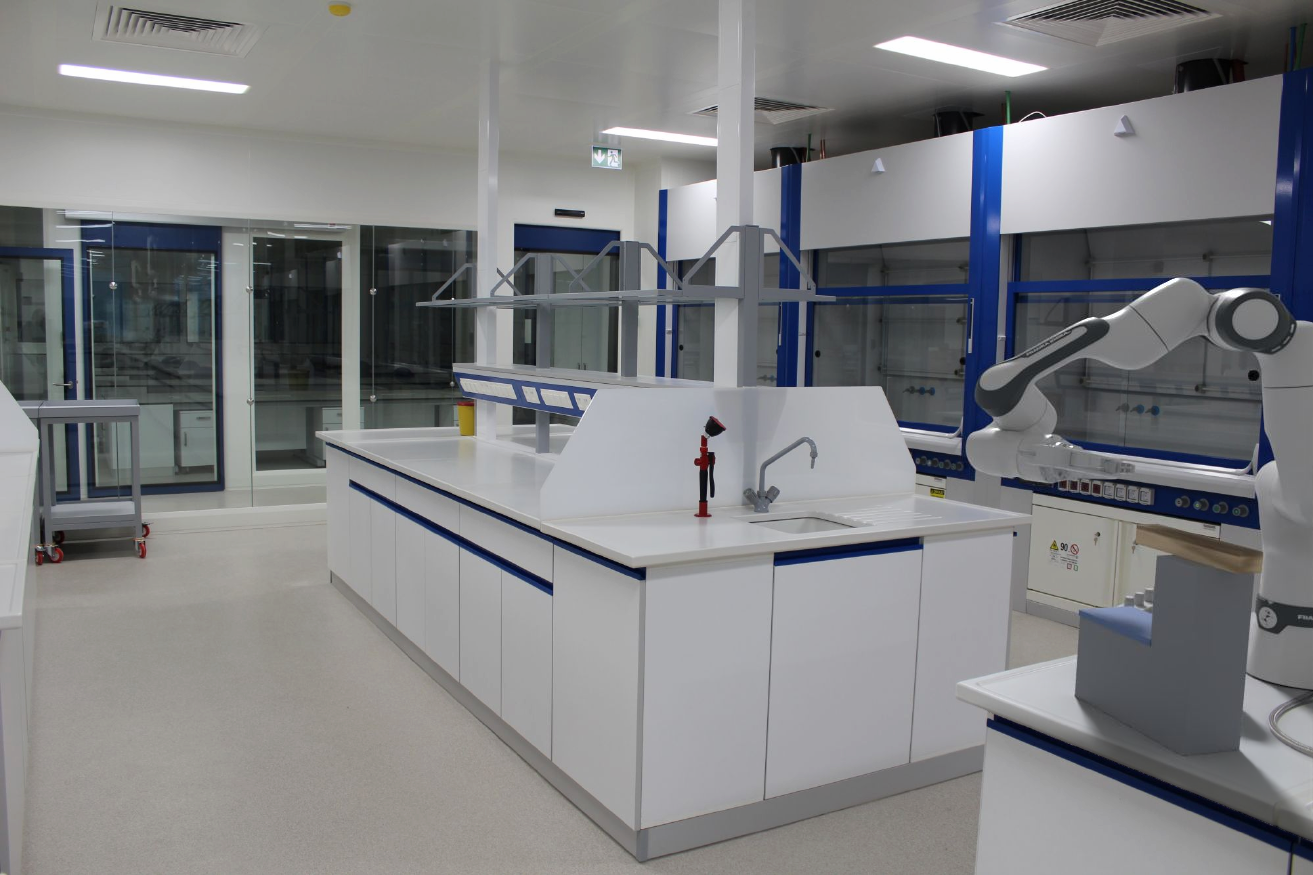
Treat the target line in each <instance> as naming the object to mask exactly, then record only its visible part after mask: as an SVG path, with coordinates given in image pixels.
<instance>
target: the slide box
mask: <svg viewBox="0 0 1313 875" xmlns="http://www.w3.org/2000/svg"><path fill="white" fill-rule="evenodd" d="M1135 529H1136V530H1135V544H1137V545H1140V546H1144V547H1146V548H1150V549H1153V550H1156V551H1160V552H1162V553H1163V552H1164V553H1166V554H1168V555H1176V556H1179V557H1183V558H1186V559H1189V560H1193V561H1196V562H1199V563H1203V564H1206V565H1209V566H1213V567H1216V568H1219V569H1223V570H1226V571H1229V572H1233V573H1236V574H1252V573H1255V574H1261V573H1262V564H1263V553H1264V552H1262V551H1261V550H1257V549H1254V548H1250V547H1246V546H1243V545H1239V544H1235V543H1231V542H1228V541H1224V540H1220V539H1216V538H1213V537H1210V536H1209V537H1208V536H1205V535H1201V534H1198V533H1193V532H1190V531H1187V530H1183V529H1180V528H1176V527H1171V526H1168V525H1164V524H1160V523H1146V524H1145V523H1142V524H1136V528H1135Z"/></svg>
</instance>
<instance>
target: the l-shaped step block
mask: <svg viewBox="0 0 1313 875" xmlns="http://www.w3.org/2000/svg"><path fill="white" fill-rule="evenodd" d="M1155 562H1156V563H1155V574H1154V575H1155V576H1154V577H1155V578H1154V584H1155V587H1154V586H1153V587H1154V588H1153V589H1154V600H1153V614H1151V613H1148V612H1146V611H1143V610H1140V609H1138V608H1135V607H1133V606H1124V607H1116V606H1113V607H1111V606H1110V607H1097V608H1096V607H1095V608H1084V609H1083V608H1082V609H1078V616H1079V625H1078V626H1079V628H1078V638H1077V639H1078V643H1077V653H1076V654H1077V657H1076V672H1075V684H1074V685H1075V687H1074V688H1075V689H1074V697H1075V698H1078V699H1079V700H1082V701H1083V702H1085V703H1087V704H1089V705H1091V706H1093V707H1094V708H1096V709H1098V710H1100V711H1101V712H1103V713H1105V714H1106V715H1108V716H1110V717H1113V719H1116V720H1117V721H1120V722H1121V723H1123V724H1125V725H1127V727H1128V726H1129V727H1130V728H1132V729H1134V730H1136V731H1137V732H1140V733H1141V734H1143V735H1145V736H1146V737H1149V738H1151V739H1153V740H1154V741H1156V742H1158V743H1160V744H1161V745H1163V746H1165V747H1167V748H1168V749H1170V750H1172V751H1174V752H1176V753H1178V754H1180V755H1181V756H1184V757H1185V756H1186V757H1187V756H1194V755H1202V754H1212V753H1221V752H1229V751H1238V750H1240V747H1241V746H1240V745H1241V734H1242V726H1243V725H1242V724H1243V723H1242V722H1243V712H1244V711H1243V709H1244V700H1245V697H1244V696H1245V686H1246V678H1247V675H1246V674H1247V672H1246V667H1247V655H1248V645H1249V640H1250V633H1251V632H1250V631H1251V630H1250V629H1251V618H1252V608H1253V607H1252V606H1253V596H1254V584H1255V583H1254V582H1255V574H1256V573H1252V574H1236V573H1233V572H1229V571H1226V570H1223V569H1219V568H1216V567H1213V566H1209V565H1206V564H1203V563H1199V562H1196V561H1193V560H1189V559H1186V558H1183V557H1179V556H1176V555H1173V554H1163V555H1161V554H1160V555H1156V560H1155Z"/></svg>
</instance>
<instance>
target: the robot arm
mask: <svg viewBox="0 0 1313 875" xmlns="http://www.w3.org/2000/svg"><path fill="white" fill-rule="evenodd" d="M1196 336H1198V337H1200V338H1202V339H1203V340H1204V341H1206V342H1207V343H1209V344H1211V345H1213V346H1215V347H1217V348H1220V349H1224V350H1226V351H1227V350H1228V351H1231V352H1249V353H1253V355H1254V356H1256V359H1257V360H1258V362H1259V366H1260V369H1261V393H1262V394H1261V395H1262V408H1263V409H1262V411H1263V413H1262V414H1263V423H1264V424H1263V425H1264V432H1265V435H1266V436H1267V438H1268V441H1269V444H1270V446H1271V447H1270V448H1271V450H1272V453H1273V457H1274V460H1271V461H1269V462H1268V463H1266V464H1264V465H1263V466H1262V467H1261V468H1260V469H1259V471H1258V472H1257V473H1256V475H1255V478H1254V485H1253V486H1254V491H1255V495H1256V497H1257V502H1258V503H1257V504H1258V516H1259V518H1258V519H1259V526H1260V528H1259V529H1260V535H1261V544H1262V545H1261V546H1262V547H1261V548H1262V552H1264V553H1263V564H1262V573H1260V584H1259V593H1257V594H1256V596H1255V597H1256V598H1255V601H1254V605H1255V606H1254V614H1255V615H1256V618H1254V620H1253V622H1252V627H1251V630H1250V631H1251V632H1250V634H1249V644H1248V655H1247V667H1246V674H1249V675H1251V676H1252V677H1255V678H1258V679H1260V680H1264V681H1266V682H1270V683H1273V684H1278V685H1282V686H1287V687H1292V688H1298V689H1305V690H1313V322H1311V321H1308V320H1307V321H1306V320H1296V319H1295V318H1294V316H1293V315H1292V314H1291V313H1290V311H1289V310H1288V309H1287V308H1286V305H1284V303H1283V302H1282V300H1281V299H1280V298H1278V296H1276V295H1275V294H1273V293H1272V292H1271V291H1268V290H1266V289H1263V288H1258V287H1238V288H1232V289H1230V290H1227V291H1221V292H1216V293H1211V294H1210V293H1209V292H1208V291H1206V289H1205V288H1204V287H1203V286H1202V285H1201V284H1200V283H1199V282H1197V281H1194V280H1192V279H1190V278H1187V277H1176V278H1175V277H1174V278H1173V279H1170V280H1169V281H1167V282H1163V283H1162V284H1160V285H1158V286H1156V287H1154V288H1153V289H1151V290H1150V291H1148V292H1146V293H1144V294H1143V295H1141V296H1139V297H1138V298H1137V299H1135V300H1134V301H1132V302H1131V303H1129V304H1128V305H1126V306H1125V307H1123V308H1122V309H1120V310H1118V311H1117V312H1114V313H1112V314H1110V315H1107V316H1103V317H1100V318H1099V317H1088V318H1086V319H1085V318H1084V319H1082V320H1080V321H1078V322H1076V323H1074V324H1072V325H1071V326H1068V327H1066V328H1064V329H1063V330H1061V331H1059V332H1057V333H1055V334H1053V335H1052V336H1049V337H1047V338H1046V339H1044V340H1043V341H1040V342H1039V343H1037V344H1036V345H1034V346H1031V347H1030V348H1028V349H1027V350H1024V351H1023V352H1021V353H1019V354H1018V355H1015V356H1014V357H1012V358H1009V359H1006V360H1003V361H1000V362H998V363H995V364H993V365H991V366H989V367H988V368H986V369H985V370H984V371H983V372H982V374H980V375H979V377H978V379H977V382H976V384H975V389H974V399H975V400H974V401H975V402H976V404H977V405H978V406H979V407H980V408H981V409H982V410H983V411H985V413H987V414H988V415H989V416H991V417H992V419H993V421H992V422H991V423H989V424H988V425H986V427H984V428H982V429H980V430H976V431H973V432H972V433H970V434H969V435H968V437H967V439H966V443H965V454H966V457H967V459H968V460H967V461H968V462H969V464H970V465H971V466H972V467H973V469H974V470H976V471H978V472H980V473H984V474H986V475H990V476H994V477H1000V478H1008V479H1012V478H1017V477H1018V478H1020V479H1022V480H1025V481H1031V482H1037V483H1039V482H1040V483H1046V484H1054V483H1057V482H1062V481H1065V482H1066V481H1070V482H1076V481H1078V479H1088V480H1090V479H1091V480H1092V479H1093V480H1117V479H1120V478H1121V476H1122V475H1124V474H1126V475H1134V474H1135V471H1136V464H1134V463H1129V462H1124V461H1123V459H1121V458H1120V457H1114V456H1113V455H1112V456H1110V455H1106V454H1103V453H1098V452H1093V451H1090V450H1086V449H1083V447H1082V446H1079V445H1076V444H1073V443H1072V442H1071V443H1070V442H1069V441H1068V440H1066V439H1064V438H1063V437H1061V435H1058V434H1054V432H1055V430H1056V427H1057V424H1058V420H1059V418H1058V416H1059V415H1058V412H1057V410H1056V409H1055V407H1054V406H1053V405H1052V403H1051V402H1050V401H1049V400H1048V398H1047V397H1046V396H1045V394H1043V392H1042V391H1041V390H1039V388H1038V387H1037V386H1036V385H1035V384H1036V382H1037V381H1038V380H1040V379H1042V378H1044V377H1045V376H1047V375H1049V374H1051V373H1052V372H1055V371H1057V370H1058V369H1059V368H1061V367H1064V366H1066V365H1068V364H1069V363H1071V362H1073V361H1075V360H1078V359H1085V358H1086V359H1087V358H1088V359H1094V360H1097V361H1100V362H1102V363H1104V364H1106V365H1109V366H1112V367H1113V368H1117V369H1122V370H1128V371H1130V370H1132V371H1133V370H1141V369H1143V368H1146V367H1148V366H1149V365H1151V364H1153V363H1155V362H1156V361H1158V360H1159V359H1161V358H1162V357H1163V356H1165V355H1166V354H1167V353H1169V352H1171V351H1172V350H1173V349H1175V348H1176V347H1178V346H1179V345H1180V344H1181V343H1183V342H1185V341H1186V340H1188V339H1190V338H1193V337H1196Z"/></svg>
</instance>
